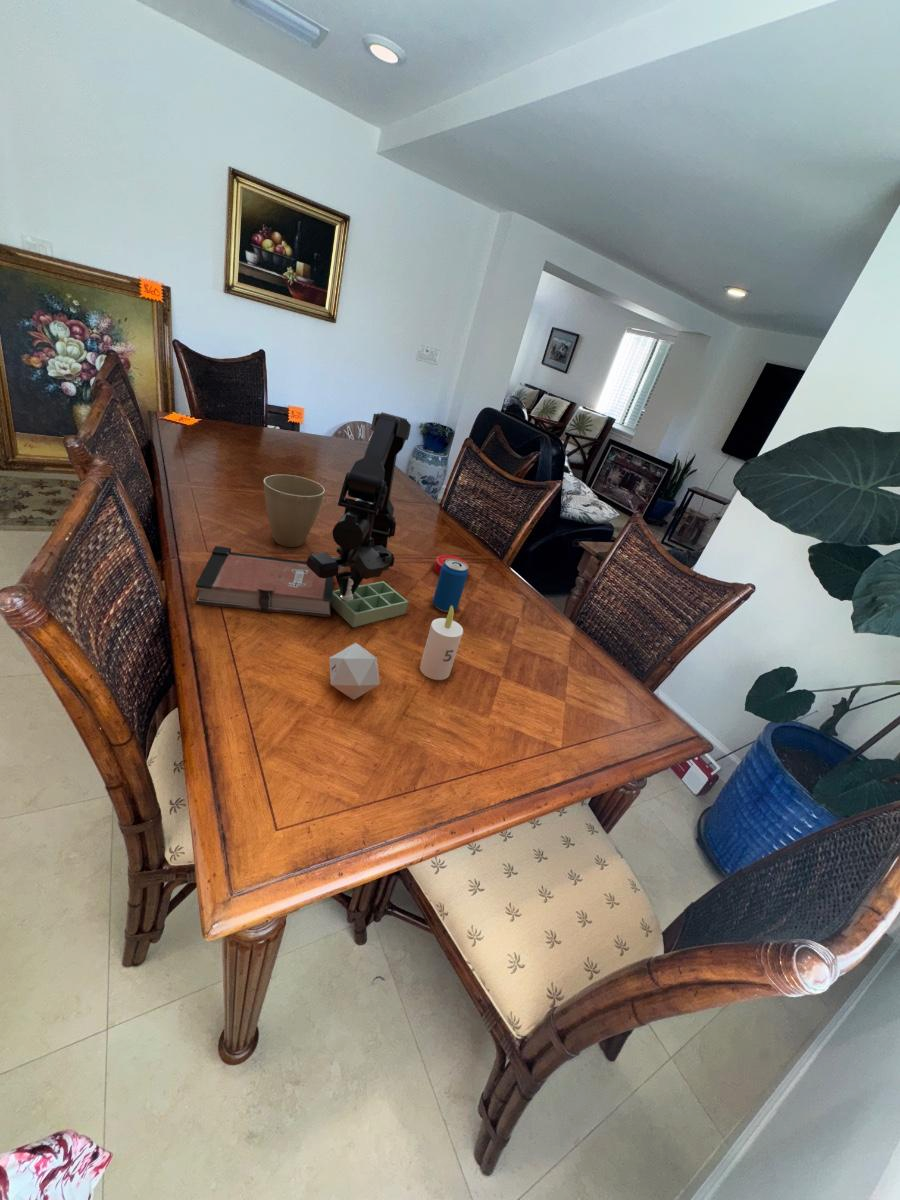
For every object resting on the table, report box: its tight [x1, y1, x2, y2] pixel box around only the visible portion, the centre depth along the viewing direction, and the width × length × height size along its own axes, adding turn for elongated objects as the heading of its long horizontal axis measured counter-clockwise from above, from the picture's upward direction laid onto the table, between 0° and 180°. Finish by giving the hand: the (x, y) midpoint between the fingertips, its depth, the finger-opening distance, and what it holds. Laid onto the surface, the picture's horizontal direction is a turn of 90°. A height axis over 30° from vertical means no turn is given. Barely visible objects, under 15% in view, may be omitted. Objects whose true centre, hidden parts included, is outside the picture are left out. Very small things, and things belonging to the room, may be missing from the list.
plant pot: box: [263, 473, 326, 548], centre depth 126 cm, size 15×15×16 cm
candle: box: [419, 605, 464, 681], centre depth 94 cm, size 6×6×15 cm
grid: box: [331, 580, 409, 628], centre depth 110 cm, size 10×15×3 cm
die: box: [328, 642, 381, 701], centre depth 85 cm, size 8×9×10 cm
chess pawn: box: [341, 578, 354, 601], centre depth 106 cm, size 3×3×5 cm
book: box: [195, 545, 334, 618], centre depth 106 cm, size 26×18×5 cm
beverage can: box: [432, 559, 469, 613], centre depth 117 cm, size 6×6×12 cm
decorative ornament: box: [433, 554, 470, 576], centre depth 138 cm, size 10×10×3 cm
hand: (347, 594), depth 107 cm, fingers closed on chess pawn, 2 cm apart
